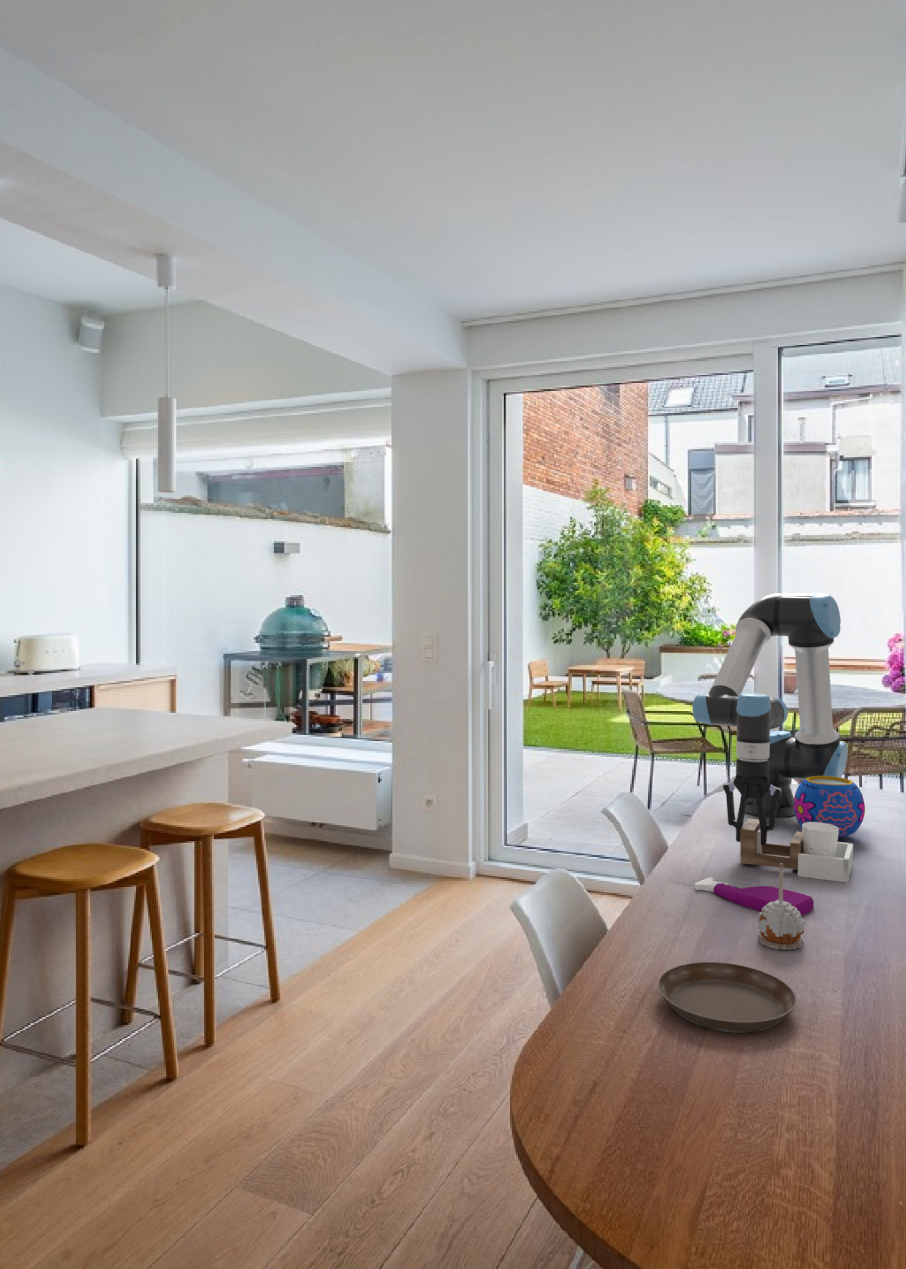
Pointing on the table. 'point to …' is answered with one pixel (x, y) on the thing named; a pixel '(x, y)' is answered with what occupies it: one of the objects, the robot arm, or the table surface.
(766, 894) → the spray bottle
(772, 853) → the wooden cradle stand
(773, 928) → the candy apple
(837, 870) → the box
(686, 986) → the plant saucer
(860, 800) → the ceramic pot
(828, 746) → the robot arm
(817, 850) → the white cup
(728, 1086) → the table surface
